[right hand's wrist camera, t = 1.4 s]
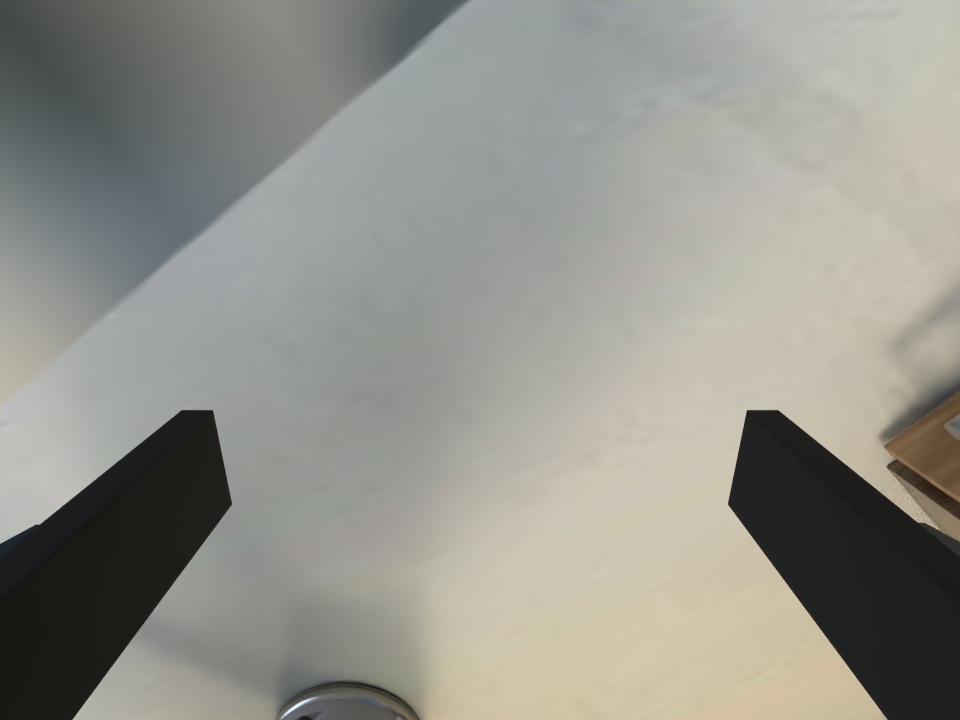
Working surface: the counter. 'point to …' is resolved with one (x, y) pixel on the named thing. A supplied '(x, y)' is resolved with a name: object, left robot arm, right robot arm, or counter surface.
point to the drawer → (933, 448)
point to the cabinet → (930, 499)
